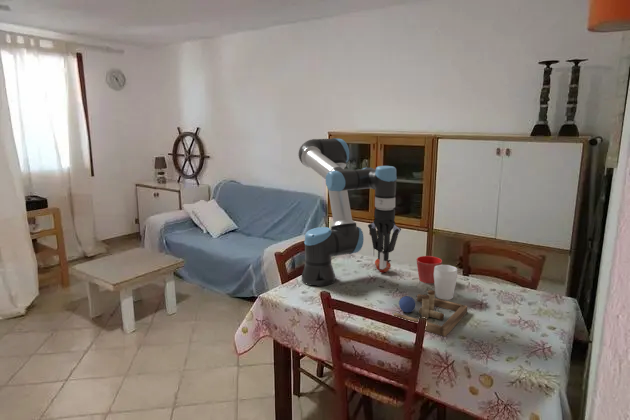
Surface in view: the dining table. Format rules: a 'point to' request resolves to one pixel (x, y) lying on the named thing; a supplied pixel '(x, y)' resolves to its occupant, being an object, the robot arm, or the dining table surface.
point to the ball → (407, 304)
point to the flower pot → (427, 268)
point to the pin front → (433, 314)
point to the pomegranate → (382, 269)
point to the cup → (445, 281)
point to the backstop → (449, 324)
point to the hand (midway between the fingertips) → (382, 267)
